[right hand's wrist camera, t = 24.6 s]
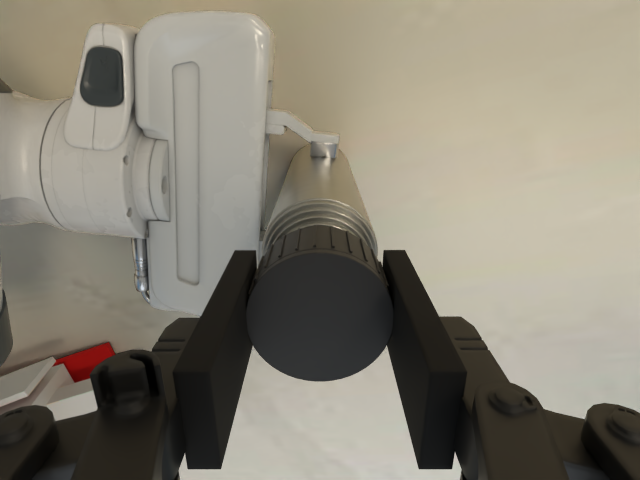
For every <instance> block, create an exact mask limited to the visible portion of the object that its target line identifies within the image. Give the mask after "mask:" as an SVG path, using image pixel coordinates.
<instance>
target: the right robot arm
mask: <svg viewBox="0 0 640 480" xmlns="http://www.w3.org/2000/svg"><path fill="white" fill-rule="evenodd" d="M256 269H257V257H256V250H235V251H234V253H233V255H232V257H231V259H230V261H229V262H228V264H227V266H226V268H225V270H224V272H223V274H222V276H221V278H220V280H219V282H218V284H217V286H216V288H215V290H214V292H213V294H212V296H211V298H210V300H209V301H208V303H207V305H206V307H205V309H204V311H203V313H202V315H201V317H200V318H178V319H177V320H176V321H174V322H173V323H172V324H170V325H169V326H168V327H166V328H165V330H164V331H163V333H162V335H161V336H160V338H159V339H158V342H156V344H155V346H154V347H153V349H152V352H150V351H146V350H130V351H126V352H122V353H118V354H116V355H113V356H111V357H109V358H107V359H105V360H104V361H102V362H101V363H99V364H98V365H97V366H95V368H94V369H93V371H92V372H91V373H90V379H91V383H92V387H93V391H94V395H95V399H96V403H97V407H98V408H97V410H96V411H94V412H90V413H87V414H84V415H79V416H75V417H71V418H66V419H62V420H58V421H55V419H54V415H53V412H52V411H51V410H50V409H48V408H47V407H45V406H39V405H31V406H23V407H19V408H16V409H13V410H10V411H7V412H5V413H3V414H2V415H0V480H180V477H179V471H178V470H179V467H180V465H181V462H182V459H183V456H184V454H185V455H186V461H187V467H188V469H221V467H222V463H223V459H224V455H225V451H226V447H227V443H228V439H229V435H230V432H231V428H232V424H233V420H234V416H235V412H236V408H237V404H238V400H239V397H240V393H241V389H242V385H243V381H244V377H245V373H246V369H247V365H248V362H249V358H250V354H251V350H252V346H253V344H252V342H251V340H250V338H249V335H248V331H247V319H246V306H247V302H248V298H249V296H248V292H249V289H250V286H251V284H252V281H253V278H254V275H255V272H256ZM383 270H384V273H385V276H386V279H387V282H388V285H389V288H388V290H389V293H390V296H391V299H392V303H393V307H394V315H393V328H392V334H391V337H390V339H389V342H388V344H387V347H388V351H389V355H390V359H391V363H392V366H393V370H394V374H395V378H396V382H397V386H398V390H399V394H400V398H401V401H402V405H403V409H404V413H405V417H406V421H407V425H408V429H409V433H410V436H411V440H412V444H413V448H414V452H415V456H416V460H417V464H418V468H419V469H452V466H453V459H454V453H455V452H456V455H457V458H458V461H459V463H460V466H461V469H462V471H461V477H460V480H640V413H638V412H636V411H635V410H632V409H629V408H626V407H623V406H620V405H615V404H607V403H602V404H597V405H593V406H592V407H591V408H590V409H589V410H588V411H587V414H586V418H585V419H581V418H576V417H572V416H568V415H563V414H559V413H555V412H552V411H548V410H545V409H543V407H542V406H541V404H540V402H539V401H538V399H537V398H536V397H535V396H534V395H532V394H531V393H530V392H529V391H527V390H526V389H524V388H522V387H520V386H518V385H516V384H513V383H510V382H509V380H508V379H507V377H506V376H505V374H504V373H503V371H502V369H501V368H500V366H499V365H498V363H497V362H496V360H495V358H494V357H493V355H492V354H491V352H490V351H489V350H488V347H487V346H486V344H485V343H484V341H483V340H482V338H481V336H480V335H479V333H478V332H477V330H476V329H475V327H474V326H473V325H471V324H470V323H469V322H467V321H466V320H465V319H463V318H462V317H439V316H438V314H437V312H436V310H435V308H434V306H433V304H432V302H431V300H430V298H429V296H428V294H427V292H426V290H425V288H424V286H423V284H422V283H421V281H420V279H419V277H418V275H417V273H416V271H415V269H414V267H413V265H412V263H411V261H410V259H409V257H408V255H407V253H406V251H405V250H384V253H383Z"/></svg>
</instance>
